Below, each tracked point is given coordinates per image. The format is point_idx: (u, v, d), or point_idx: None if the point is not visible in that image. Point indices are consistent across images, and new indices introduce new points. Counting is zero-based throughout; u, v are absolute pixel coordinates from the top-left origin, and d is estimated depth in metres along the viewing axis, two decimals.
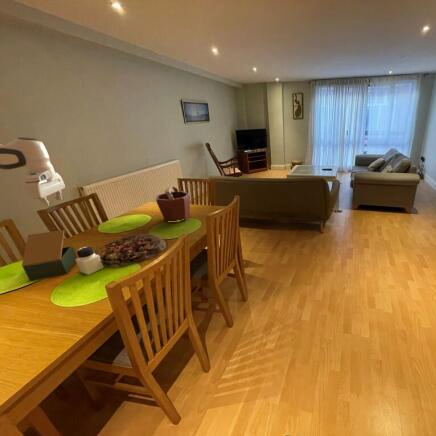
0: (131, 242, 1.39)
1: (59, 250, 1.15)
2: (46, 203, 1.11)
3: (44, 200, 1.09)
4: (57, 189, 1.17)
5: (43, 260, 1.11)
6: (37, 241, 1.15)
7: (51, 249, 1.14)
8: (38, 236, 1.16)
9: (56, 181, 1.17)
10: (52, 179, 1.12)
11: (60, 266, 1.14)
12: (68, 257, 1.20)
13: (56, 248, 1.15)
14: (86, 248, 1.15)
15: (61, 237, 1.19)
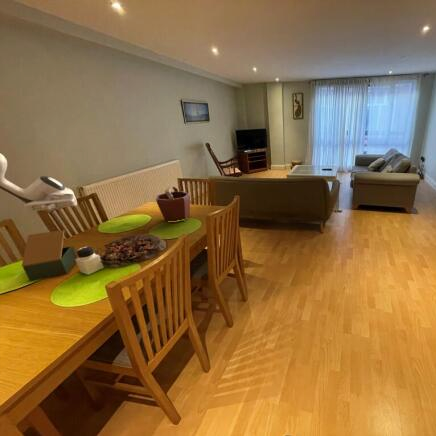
0: (131, 242, 1.39)
1: (59, 250, 1.15)
2: (50, 208, 1.22)
3: (53, 207, 1.24)
4: None
5: (43, 260, 1.11)
6: (37, 241, 1.15)
7: (51, 249, 1.14)
8: (38, 236, 1.16)
9: None
10: None
11: (60, 266, 1.14)
12: (68, 257, 1.20)
13: (56, 248, 1.15)
14: (86, 248, 1.15)
15: (61, 237, 1.19)
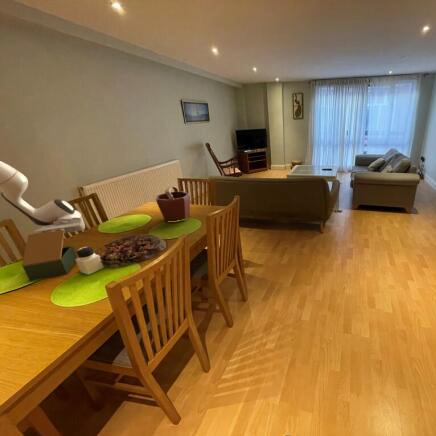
0: (131, 242, 1.39)
1: (59, 250, 1.15)
2: None
3: None
4: None
5: (43, 260, 1.11)
6: (37, 241, 1.15)
7: (51, 249, 1.14)
8: (38, 236, 1.16)
9: None
10: None
11: (60, 266, 1.14)
12: (68, 257, 1.20)
13: (56, 248, 1.15)
14: (86, 248, 1.15)
15: (61, 237, 1.19)
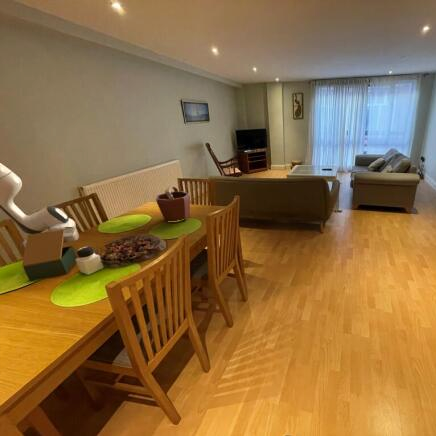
0: (131, 242, 1.39)
1: (59, 250, 1.15)
2: None
3: None
4: None
5: (43, 260, 1.11)
6: (36, 241, 1.15)
7: (51, 249, 1.14)
8: (38, 236, 1.16)
9: None
10: None
11: (60, 266, 1.14)
12: (68, 257, 1.20)
13: (56, 248, 1.15)
14: (86, 248, 1.15)
15: (61, 236, 1.18)
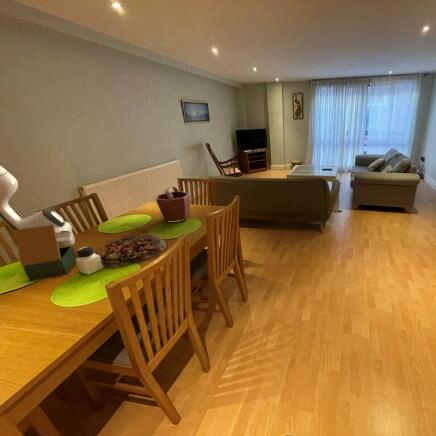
0: (131, 242, 1.39)
1: (56, 249, 1.12)
2: None
3: None
4: None
5: (42, 260, 1.10)
6: (27, 238, 1.08)
7: (47, 248, 1.11)
8: (26, 232, 1.08)
9: None
10: None
11: (60, 266, 1.14)
12: (68, 257, 1.20)
13: (52, 247, 1.12)
14: (86, 248, 1.15)
15: (53, 233, 1.12)
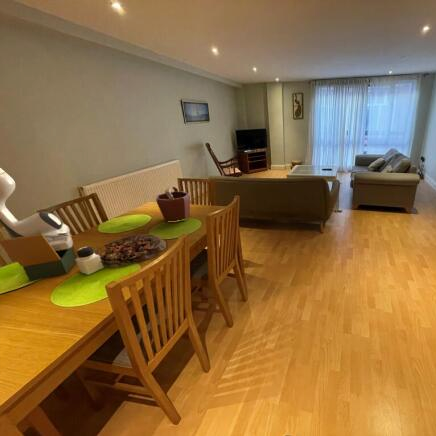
0: (131, 242, 1.39)
1: (53, 253, 1.10)
2: None
3: None
4: None
5: (42, 261, 1.10)
6: (17, 247, 1.01)
7: (42, 253, 1.07)
8: (13, 242, 1.00)
9: None
10: None
11: (60, 266, 1.14)
12: (68, 257, 1.20)
13: (48, 252, 1.08)
14: (86, 248, 1.15)
15: (45, 242, 1.05)
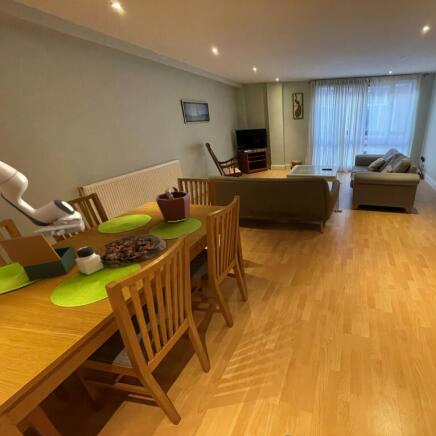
0: (131, 242, 1.39)
1: (53, 253, 1.10)
2: (59, 234, 1.27)
3: (62, 233, 1.28)
4: None
5: (42, 261, 1.10)
6: (17, 247, 1.01)
7: (42, 253, 1.07)
8: (13, 242, 1.00)
9: None
10: None
11: (60, 266, 1.14)
12: (68, 257, 1.20)
13: (48, 252, 1.08)
14: (86, 248, 1.15)
15: (45, 242, 1.05)
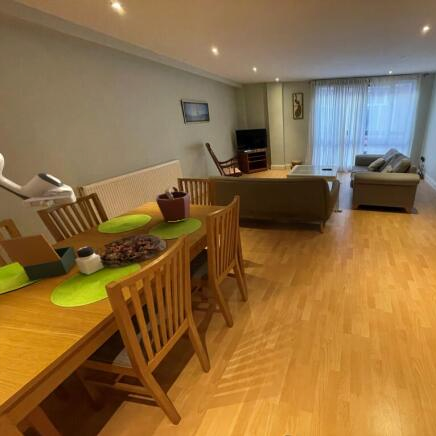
0: (131, 242, 1.39)
1: (53, 253, 1.10)
2: (48, 204, 1.22)
3: (52, 203, 1.24)
4: None
5: (42, 261, 1.10)
6: (17, 247, 1.01)
7: (42, 253, 1.07)
8: (13, 242, 1.00)
9: None
10: None
11: (60, 266, 1.14)
12: (68, 257, 1.20)
13: (48, 252, 1.08)
14: (86, 248, 1.15)
15: (45, 242, 1.05)
